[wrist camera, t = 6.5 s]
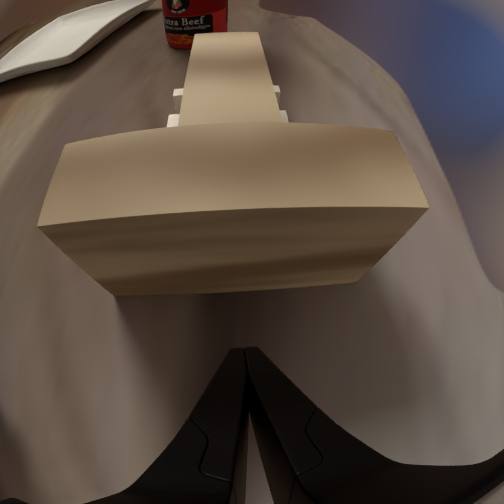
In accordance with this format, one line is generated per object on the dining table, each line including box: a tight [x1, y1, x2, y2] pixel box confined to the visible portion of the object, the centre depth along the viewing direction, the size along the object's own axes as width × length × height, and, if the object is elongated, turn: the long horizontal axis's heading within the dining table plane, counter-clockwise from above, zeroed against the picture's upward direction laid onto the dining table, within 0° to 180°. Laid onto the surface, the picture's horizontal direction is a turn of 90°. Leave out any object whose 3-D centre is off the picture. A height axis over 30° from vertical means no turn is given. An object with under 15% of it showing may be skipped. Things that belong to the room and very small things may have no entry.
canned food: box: [162, 0, 228, 49], centre depth 24 cm, size 8×8×11 cm
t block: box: [37, 32, 429, 296], centre depth 15 cm, size 14×14×8 cm
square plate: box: [0, 0, 155, 82], centre depth 31 cm, size 27×27×4 cm
